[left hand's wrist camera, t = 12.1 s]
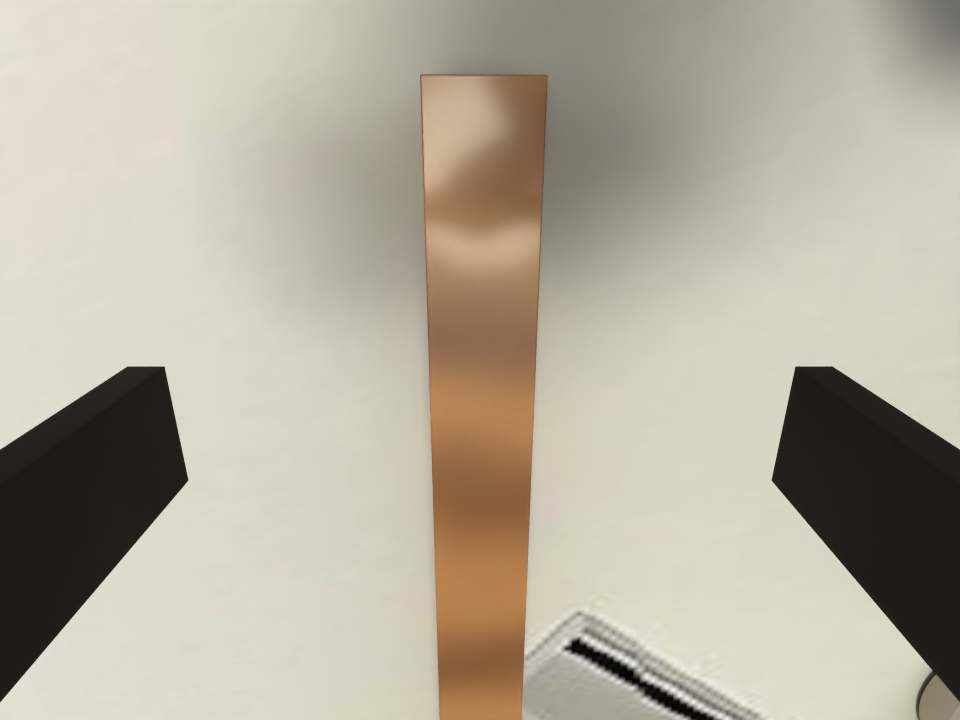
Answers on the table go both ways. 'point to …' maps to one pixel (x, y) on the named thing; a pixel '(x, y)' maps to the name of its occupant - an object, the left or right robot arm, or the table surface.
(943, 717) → the bust sculpture
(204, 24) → the table surface
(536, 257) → the beam
